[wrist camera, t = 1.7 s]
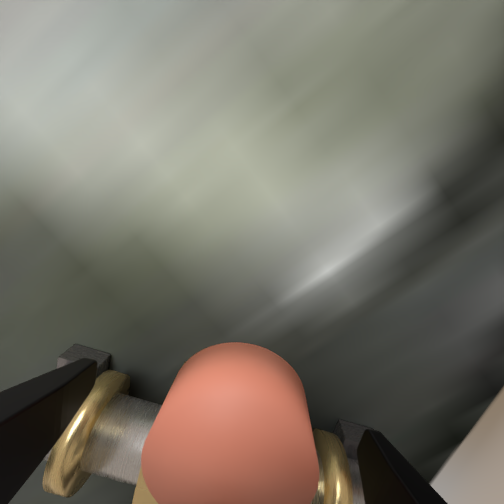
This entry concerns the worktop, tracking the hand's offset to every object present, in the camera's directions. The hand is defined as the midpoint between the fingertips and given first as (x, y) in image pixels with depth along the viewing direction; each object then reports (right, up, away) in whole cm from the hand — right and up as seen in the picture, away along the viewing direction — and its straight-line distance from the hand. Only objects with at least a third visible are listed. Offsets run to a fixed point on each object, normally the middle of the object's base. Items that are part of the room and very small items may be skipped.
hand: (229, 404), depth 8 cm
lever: (-1, -3, +2) cm, 4 cm away
